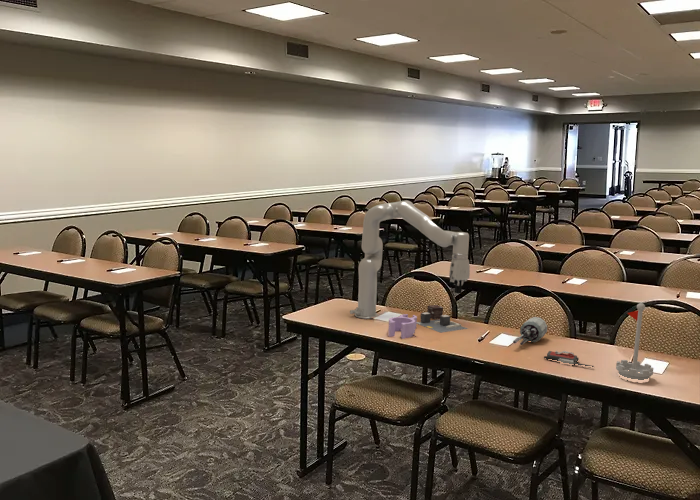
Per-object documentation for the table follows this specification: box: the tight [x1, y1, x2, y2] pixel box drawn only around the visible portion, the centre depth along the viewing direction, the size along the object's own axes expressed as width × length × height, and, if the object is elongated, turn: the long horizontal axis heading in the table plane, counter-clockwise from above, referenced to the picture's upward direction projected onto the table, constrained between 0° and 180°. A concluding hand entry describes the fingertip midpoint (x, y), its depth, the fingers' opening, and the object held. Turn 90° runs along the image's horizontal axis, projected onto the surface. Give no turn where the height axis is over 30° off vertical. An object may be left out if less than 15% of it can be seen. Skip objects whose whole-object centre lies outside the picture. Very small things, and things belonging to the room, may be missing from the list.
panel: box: [417, 319, 469, 333], centre depth 295 cm, size 18×20×2 cm
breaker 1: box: [419, 312, 431, 323], centre depth 300 cm, size 4×3×5 cm
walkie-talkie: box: [543, 350, 595, 368], centre depth 247 cm, size 9×4×20 cm
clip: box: [387, 313, 418, 340], centre depth 283 cm, size 20×12×7 cm, turn 155°
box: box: [427, 304, 444, 320], centre depth 310 cm, size 6×6×7 cm
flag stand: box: [615, 302, 654, 380], centre depth 229 cm, size 13×13×30 cm
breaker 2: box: [440, 314, 451, 326], centre depth 296 cm, size 4×3×5 cm
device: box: [512, 316, 548, 346], centre depth 272 cm, size 31×10×10 cm, turn 149°
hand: (457, 292), depth 298 cm, fingers closed
